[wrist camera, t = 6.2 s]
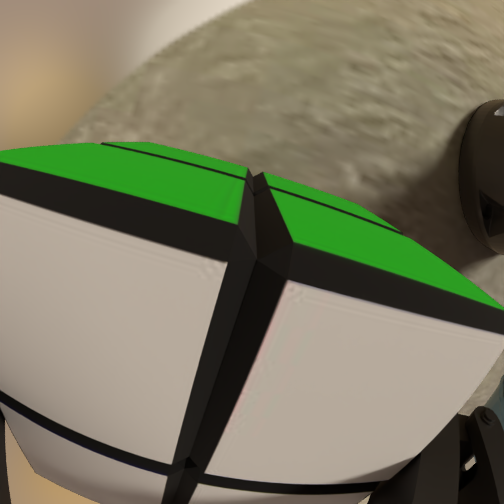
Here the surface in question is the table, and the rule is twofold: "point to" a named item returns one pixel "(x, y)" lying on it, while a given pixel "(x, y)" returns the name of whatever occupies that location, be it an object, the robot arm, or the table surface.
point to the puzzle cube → (220, 331)
